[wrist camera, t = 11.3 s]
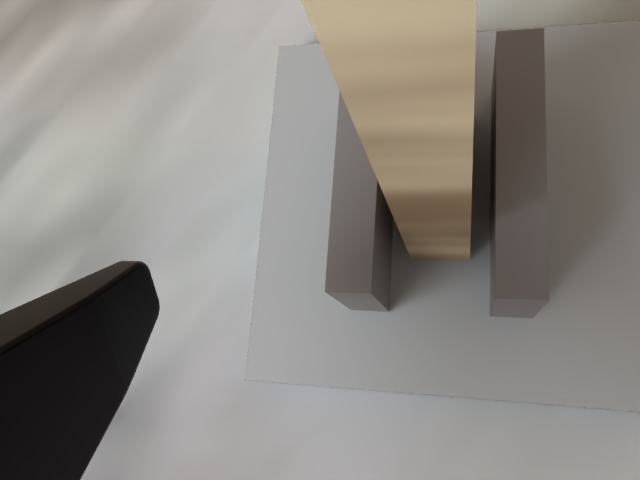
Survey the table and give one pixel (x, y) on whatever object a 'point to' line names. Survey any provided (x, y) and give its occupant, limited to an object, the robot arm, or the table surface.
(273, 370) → the slate stand
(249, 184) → the table surface
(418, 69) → the tan wooden block
